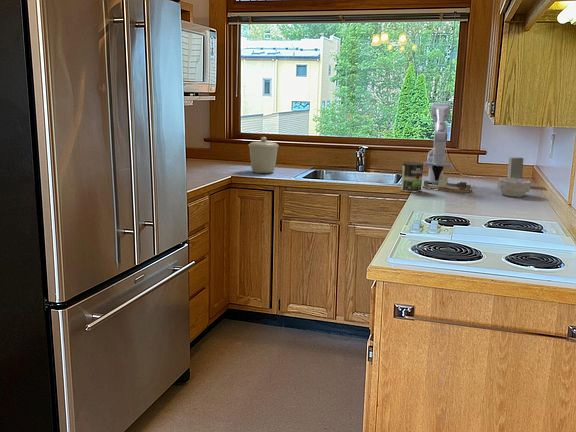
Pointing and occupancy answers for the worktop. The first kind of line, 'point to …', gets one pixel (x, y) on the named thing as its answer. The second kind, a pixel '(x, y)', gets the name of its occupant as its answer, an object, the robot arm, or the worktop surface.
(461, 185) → the cable cradle
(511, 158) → the skincare box
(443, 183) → the marker sleeve
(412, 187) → the coffee can
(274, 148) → the canister
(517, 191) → the paper bowls
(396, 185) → the worktop surface
